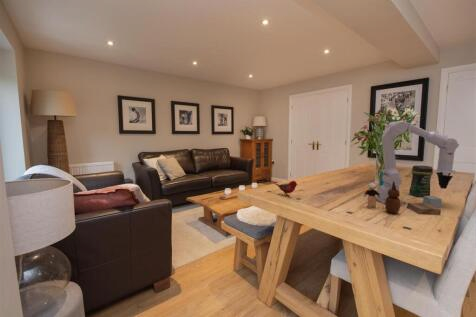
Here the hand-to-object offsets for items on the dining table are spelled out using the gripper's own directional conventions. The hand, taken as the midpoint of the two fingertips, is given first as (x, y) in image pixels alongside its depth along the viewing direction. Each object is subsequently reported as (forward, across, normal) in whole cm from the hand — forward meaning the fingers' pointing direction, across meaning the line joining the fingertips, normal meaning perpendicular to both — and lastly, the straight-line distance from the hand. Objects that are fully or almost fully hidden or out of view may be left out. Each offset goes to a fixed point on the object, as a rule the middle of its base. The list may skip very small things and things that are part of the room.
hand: (442, 187), depth 115 cm
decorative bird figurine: (+10, -36, +72) cm, 82 cm away
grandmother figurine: (+10, -28, +28) cm, 41 cm away
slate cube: (+10, -7, +4) cm, 13 cm away
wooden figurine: (+10, -30, +19) cm, 37 cm away
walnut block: (+10, -18, +8) cm, 22 cm away
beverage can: (+10, +6, +26) cm, 28 cm away
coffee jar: (+10, +16, +8) cm, 20 cm away
